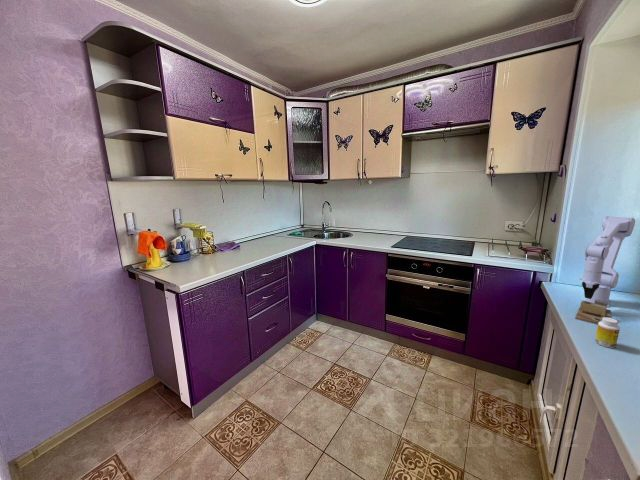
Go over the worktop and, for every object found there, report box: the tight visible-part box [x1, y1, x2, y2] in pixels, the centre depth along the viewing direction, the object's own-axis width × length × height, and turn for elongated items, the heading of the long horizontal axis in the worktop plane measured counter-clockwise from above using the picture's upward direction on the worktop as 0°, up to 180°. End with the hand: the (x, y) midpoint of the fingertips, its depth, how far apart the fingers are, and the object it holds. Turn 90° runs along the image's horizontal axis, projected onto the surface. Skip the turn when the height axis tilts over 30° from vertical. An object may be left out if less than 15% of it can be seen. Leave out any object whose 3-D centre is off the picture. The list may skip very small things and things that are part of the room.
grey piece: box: [594, 299, 608, 322], centre depth 119 cm, size 16×4×5 cm, turn 130°
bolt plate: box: [574, 307, 612, 326], centre depth 121 cm, size 19×10×1 cm, turn 130°
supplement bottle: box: [594, 317, 621, 349], centre depth 99 cm, size 6×6×10 cm
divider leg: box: [579, 300, 608, 316], centre depth 120 cm, size 3×8×5 cm, turn 40°
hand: (588, 297), depth 124 cm, fingers closed
